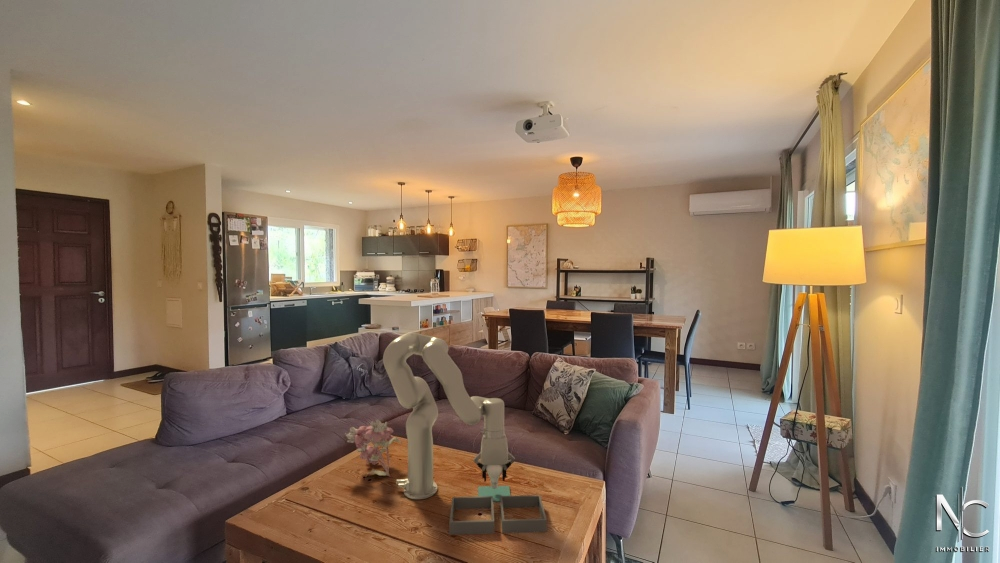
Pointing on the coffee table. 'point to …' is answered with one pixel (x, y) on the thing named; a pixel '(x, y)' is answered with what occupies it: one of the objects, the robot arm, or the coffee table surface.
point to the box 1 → (471, 526)
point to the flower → (379, 439)
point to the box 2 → (523, 524)
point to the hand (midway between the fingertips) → (494, 479)
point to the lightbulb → (494, 474)
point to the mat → (494, 492)
